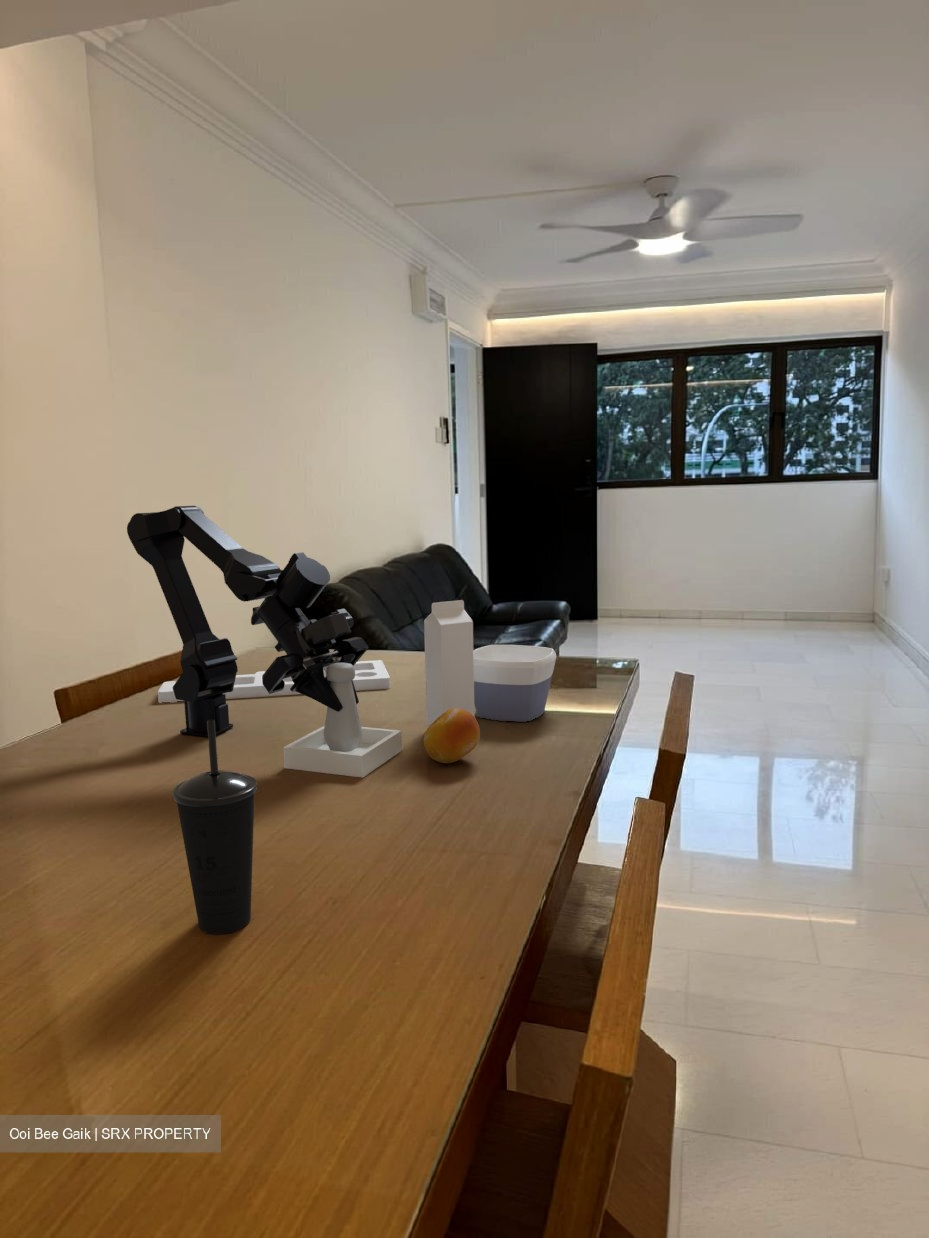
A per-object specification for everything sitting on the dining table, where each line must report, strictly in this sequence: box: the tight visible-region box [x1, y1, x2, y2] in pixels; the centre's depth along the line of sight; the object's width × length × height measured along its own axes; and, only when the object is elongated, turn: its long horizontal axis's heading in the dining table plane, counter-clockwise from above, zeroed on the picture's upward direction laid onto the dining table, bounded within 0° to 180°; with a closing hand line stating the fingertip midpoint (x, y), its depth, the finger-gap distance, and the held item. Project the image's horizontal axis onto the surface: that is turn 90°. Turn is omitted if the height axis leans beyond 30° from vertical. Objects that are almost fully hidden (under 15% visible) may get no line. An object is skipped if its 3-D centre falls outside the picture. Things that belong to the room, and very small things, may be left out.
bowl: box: [473, 644, 557, 723], centre depth 154 cm, size 15×15×11 cm
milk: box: [423, 599, 476, 730], centre depth 142 cm, size 6×6×22 cm
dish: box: [283, 725, 403, 778], centre depth 131 cm, size 13×13×3 cm
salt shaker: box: [323, 663, 362, 752], centre depth 130 cm, size 6×6×13 cm
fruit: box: [423, 708, 481, 764], centre depth 128 cm, size 8×9×8 cm
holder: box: [157, 659, 391, 704], centre depth 180 cm, size 45×18×3 cm, turn 101°
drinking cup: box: [172, 720, 258, 935], centre depth 82 cm, size 8×8×20 cm
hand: (348, 707), depth 129 cm, fingers closed on salt shaker, 3 cm apart
